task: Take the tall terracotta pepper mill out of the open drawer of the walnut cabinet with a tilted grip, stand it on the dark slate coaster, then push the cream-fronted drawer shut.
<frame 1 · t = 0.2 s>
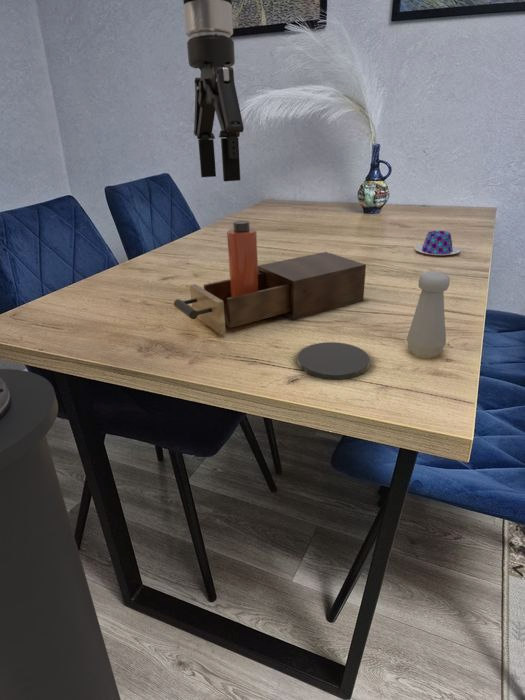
hand: (219, 179, 84), 25 cm above the table, tool pointing down, fingers open, 13 cm apart
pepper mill: (245, 307, 89), point 2 cm above the table, touching drawer
cabinet: (310, 300, 97), on the table
coaster: (333, 361, 73), on the table
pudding: (436, 252, 129), on the table
salt shaker: (424, 353, 75), on the table
drawer: (233, 301, 87), point 4 cm above the table, slide at 14.0 cm, touching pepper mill
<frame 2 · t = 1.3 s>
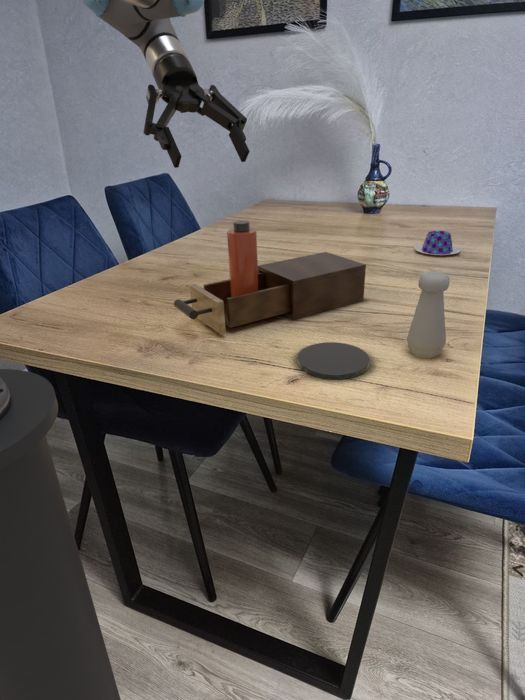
hand: (213, 159, 85), 28 cm above the table, tool tilted 45°, fingers open, 13 cm apart
nothing on the table moved.
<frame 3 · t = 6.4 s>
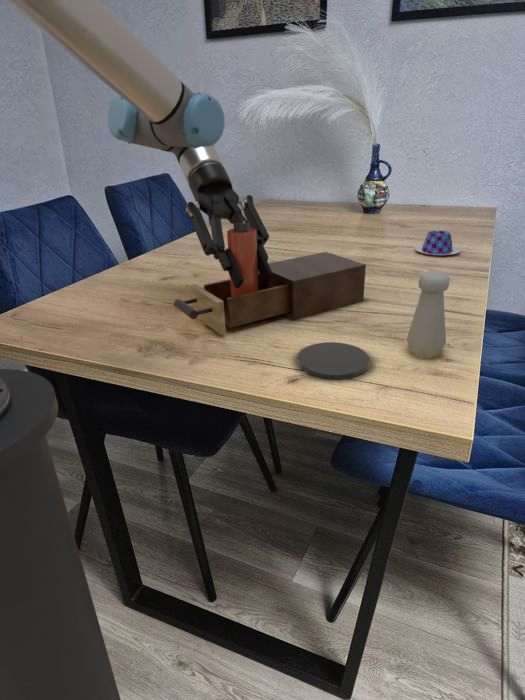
hand: (254, 280, 83), 8 cm above the table, tool tilted 45°, fingers closed on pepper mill, 5 cm apart
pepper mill: (245, 307, 89), point 2 cm above the table, touching drawer, gripper
everything else where it was.
when the fingers open (7 cm above the table, at t = 16.8 s): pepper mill stays where it is, resting on coaster.
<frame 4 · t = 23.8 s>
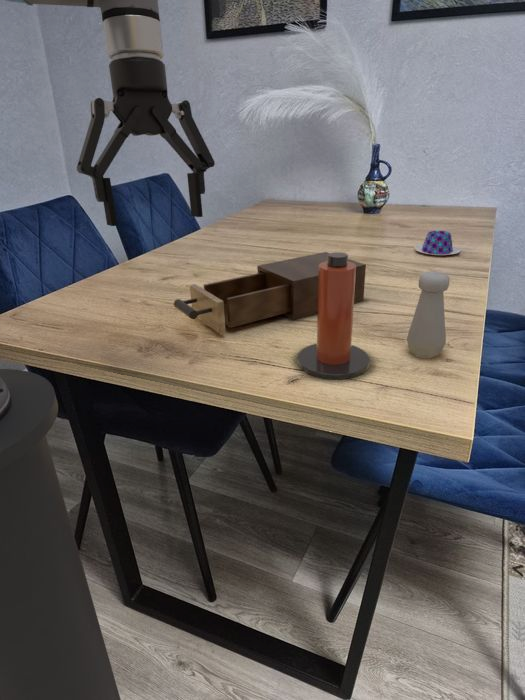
hand: (156, 220, 72), 20 cm above the table, tool pointing down, fingers open, 13 cm apart
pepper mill: (333, 357, 72), point 1 cm above the table, touching coaster
drawer: (233, 301, 87), point 4 cm above the table, slide at 14.0 cm
everything else where it was.
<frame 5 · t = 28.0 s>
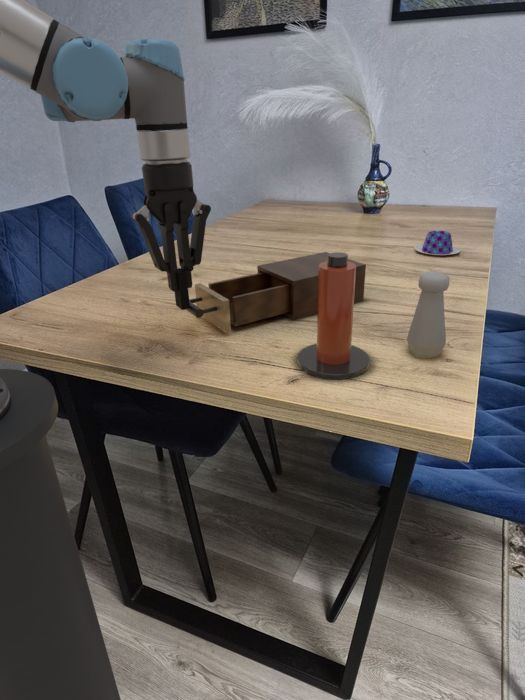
hand: (183, 306, 82), 5 cm above the table, tool pointing down, fingers closed
drawer: (238, 300, 88), point 4 cm above the table, slide at 12.9 cm, touching gripper
everything else where it was.
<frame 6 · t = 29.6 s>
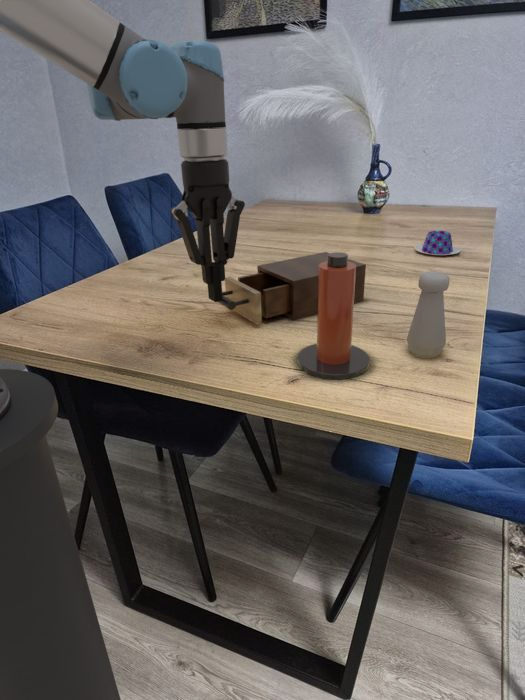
hand: (215, 299, 85), 5 cm above the table, tool pointing down, fingers closed
drawer: (267, 293, 91), point 4 cm above the table, slide at 6.6 cm, touching gripper
everything else where it was.
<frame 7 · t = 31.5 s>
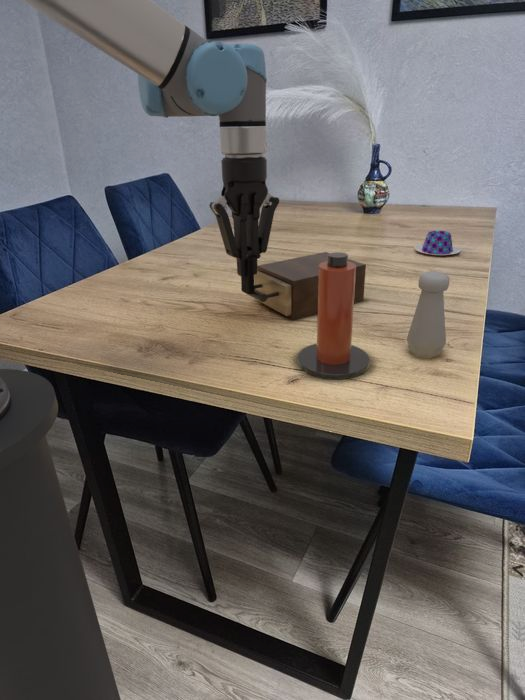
hand: (248, 291, 88), 5 cm above the table, tool pointing down, fingers closed
drawer: (295, 287, 94), point 4 cm above the table, slide at 0.0 cm, touching cabinet, gripper
everything else where it was.
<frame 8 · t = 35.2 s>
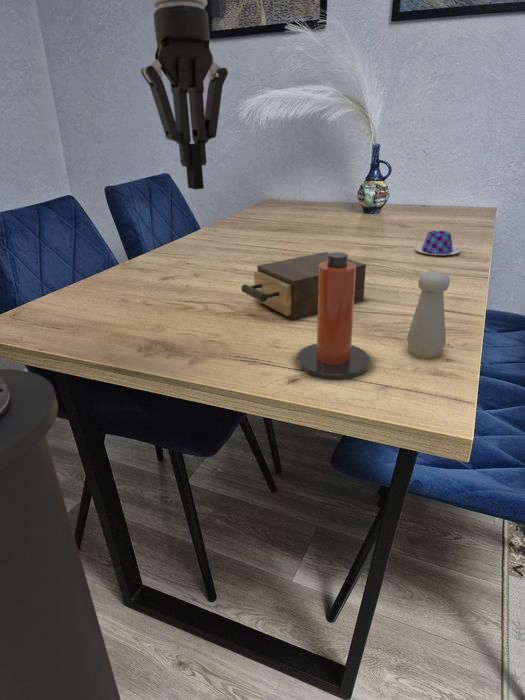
hand: (195, 188, 75), 24 cm above the table, tool pointing down, fingers closed
drawer: (295, 287, 94), point 4 cm above the table, slide at 0.0 cm
everything else where it was.
at the end: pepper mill 0.0 cm off-centre on the coaster, point 0.8 cm above the coaster's base; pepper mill tilted 0°; drawer slide at 0.0 cm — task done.
